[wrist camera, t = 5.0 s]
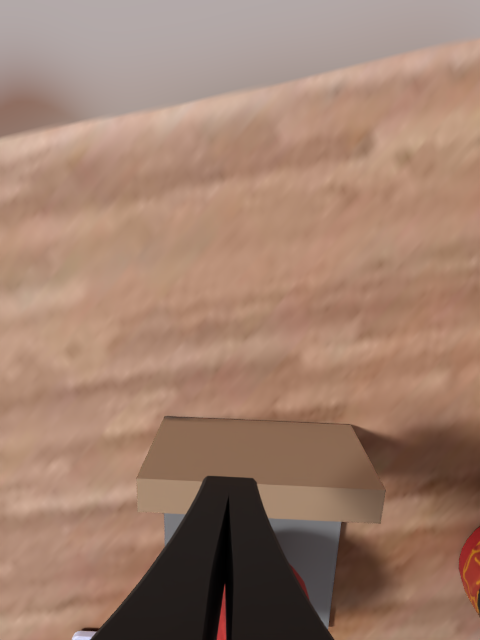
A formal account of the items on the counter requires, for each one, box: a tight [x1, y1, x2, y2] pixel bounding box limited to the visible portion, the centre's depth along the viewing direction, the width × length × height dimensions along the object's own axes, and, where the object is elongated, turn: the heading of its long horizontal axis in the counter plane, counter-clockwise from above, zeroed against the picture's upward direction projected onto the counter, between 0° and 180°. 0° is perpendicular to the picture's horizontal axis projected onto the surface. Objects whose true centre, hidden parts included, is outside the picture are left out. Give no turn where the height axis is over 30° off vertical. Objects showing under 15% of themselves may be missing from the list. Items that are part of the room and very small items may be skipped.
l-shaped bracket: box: [136, 416, 386, 629], centre depth 18 cm, size 14×10×5 cm
